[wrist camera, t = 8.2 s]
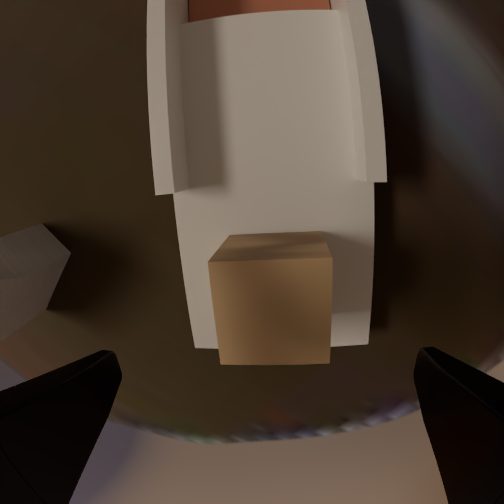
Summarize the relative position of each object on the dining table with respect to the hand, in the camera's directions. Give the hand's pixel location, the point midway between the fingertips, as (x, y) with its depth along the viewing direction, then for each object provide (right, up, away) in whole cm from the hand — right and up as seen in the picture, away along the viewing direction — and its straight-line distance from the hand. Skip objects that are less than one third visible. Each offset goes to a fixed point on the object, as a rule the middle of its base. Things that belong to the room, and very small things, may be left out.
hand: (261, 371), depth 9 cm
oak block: (+1, +2, +10) cm, 10 cm away
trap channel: (+1, +10, +10) cm, 14 cm away
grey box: (-17, +2, +14) cm, 23 cm away
